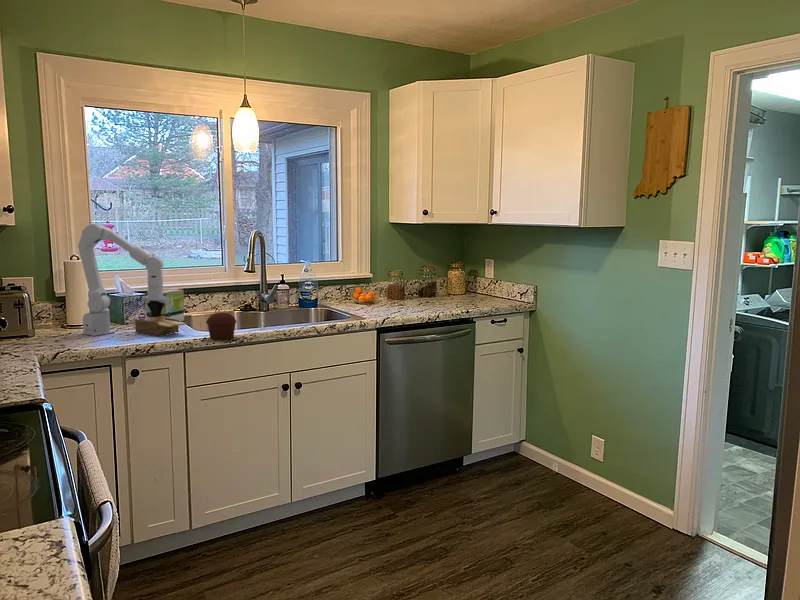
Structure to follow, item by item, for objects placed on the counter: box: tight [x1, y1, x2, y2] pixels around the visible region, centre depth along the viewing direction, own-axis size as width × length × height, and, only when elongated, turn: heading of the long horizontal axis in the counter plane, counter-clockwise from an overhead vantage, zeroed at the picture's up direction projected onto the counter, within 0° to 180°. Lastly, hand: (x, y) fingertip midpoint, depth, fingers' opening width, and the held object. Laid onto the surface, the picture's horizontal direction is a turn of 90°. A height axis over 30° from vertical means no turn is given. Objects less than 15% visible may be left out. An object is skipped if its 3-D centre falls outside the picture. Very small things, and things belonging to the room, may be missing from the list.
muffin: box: [205, 311, 237, 341], centre depth 243 cm, size 12×11×10 cm
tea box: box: [145, 288, 185, 322], centre depth 277 cm, size 15×10×15 cm
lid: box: [151, 316, 188, 327], centre depth 248 cm, size 8×14×2 cm, turn 59°
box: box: [134, 318, 180, 337], centre depth 252 cm, size 10×14×6 cm
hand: (156, 319), depth 252 cm, fingers closed
